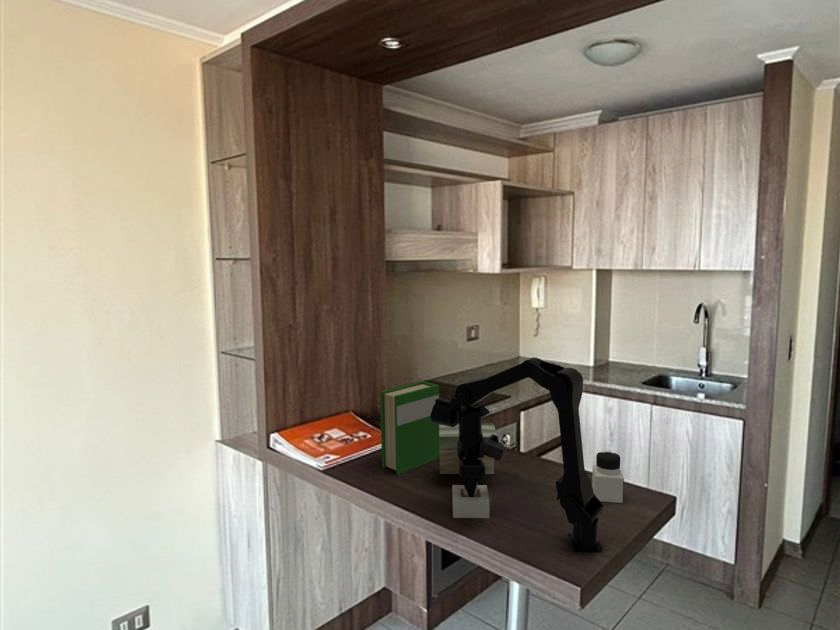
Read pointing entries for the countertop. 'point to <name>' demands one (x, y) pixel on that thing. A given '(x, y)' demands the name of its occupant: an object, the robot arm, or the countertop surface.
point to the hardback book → (409, 426)
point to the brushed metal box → (450, 452)
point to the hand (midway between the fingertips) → (470, 489)
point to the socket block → (470, 503)
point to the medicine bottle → (608, 477)
